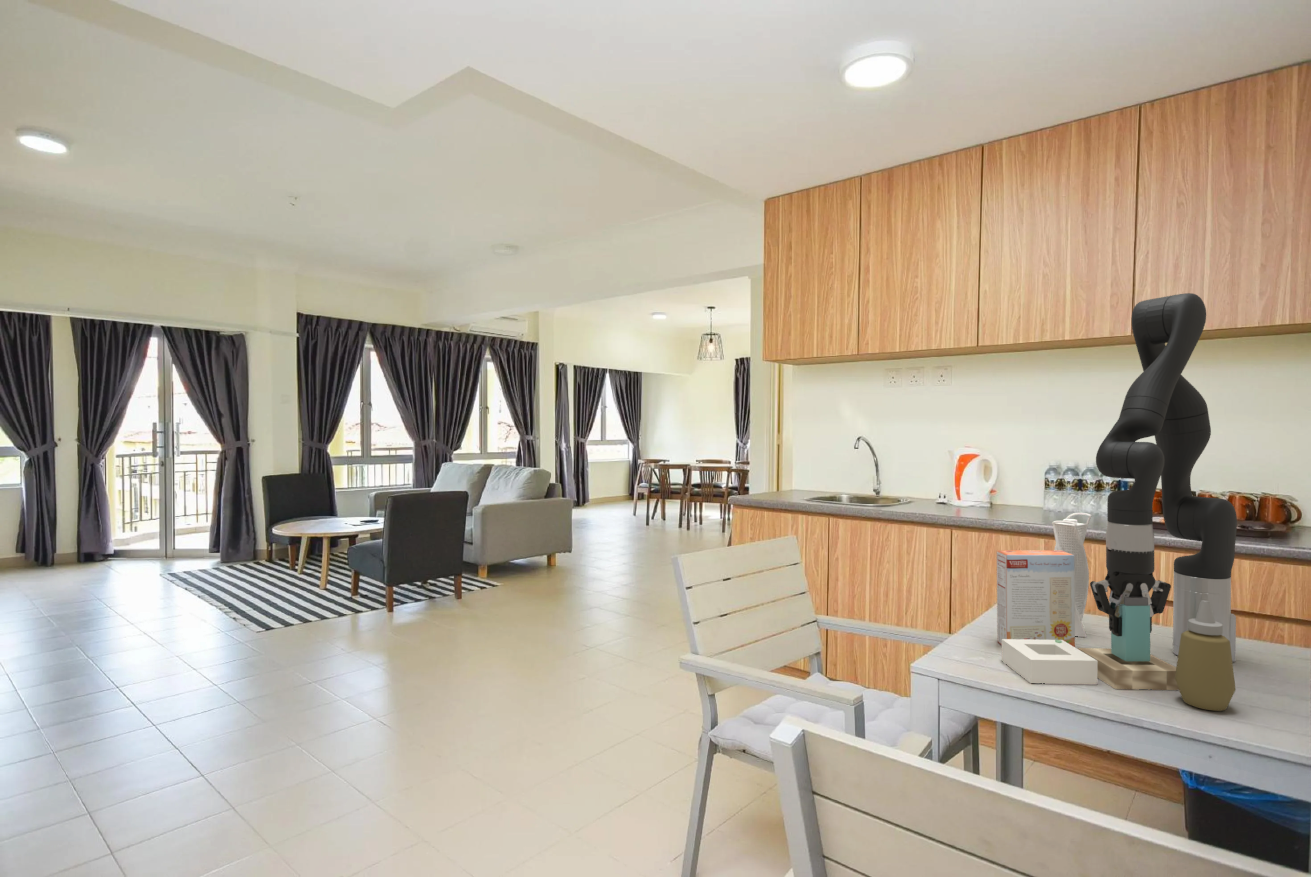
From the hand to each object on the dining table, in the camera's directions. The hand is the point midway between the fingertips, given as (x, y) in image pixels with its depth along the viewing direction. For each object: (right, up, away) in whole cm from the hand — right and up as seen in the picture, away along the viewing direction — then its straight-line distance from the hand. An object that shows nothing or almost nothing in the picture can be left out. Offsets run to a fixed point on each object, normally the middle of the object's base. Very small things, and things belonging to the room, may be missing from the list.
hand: (1130, 634), depth 127 cm
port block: (-14, -8, +3) cm, 17 cm away
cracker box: (-8, -8, +18) cm, 21 cm away
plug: (0, -4, 0) cm, 4 cm away
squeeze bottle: (+4, -9, -12) cm, 16 cm away
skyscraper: (+5, -8, +27) cm, 28 cm away
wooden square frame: (0, -8, 0) cm, 8 cm away
